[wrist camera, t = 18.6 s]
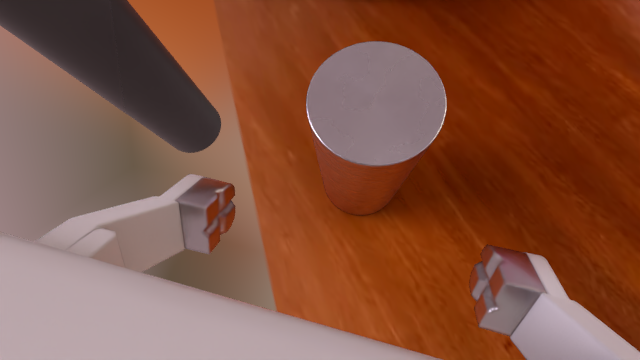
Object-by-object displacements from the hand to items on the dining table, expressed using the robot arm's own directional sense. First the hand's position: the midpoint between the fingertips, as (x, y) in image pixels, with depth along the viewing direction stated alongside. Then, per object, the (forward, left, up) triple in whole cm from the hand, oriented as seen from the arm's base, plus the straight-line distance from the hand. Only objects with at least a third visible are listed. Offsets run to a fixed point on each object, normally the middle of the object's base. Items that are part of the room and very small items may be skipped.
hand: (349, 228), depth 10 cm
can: (+3, +5, -13) cm, 14 cm away
